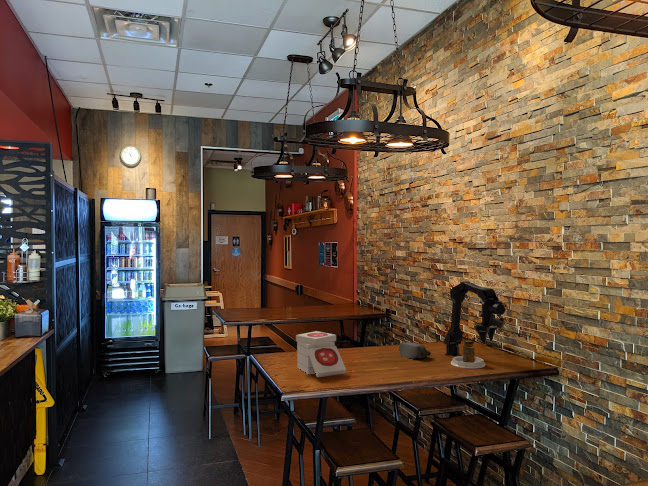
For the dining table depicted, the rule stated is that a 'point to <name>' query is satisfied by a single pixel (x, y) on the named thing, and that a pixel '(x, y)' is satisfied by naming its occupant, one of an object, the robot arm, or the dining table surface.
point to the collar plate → (459, 363)
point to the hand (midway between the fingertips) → (487, 342)
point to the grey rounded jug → (413, 350)
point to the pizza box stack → (319, 354)
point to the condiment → (468, 351)
